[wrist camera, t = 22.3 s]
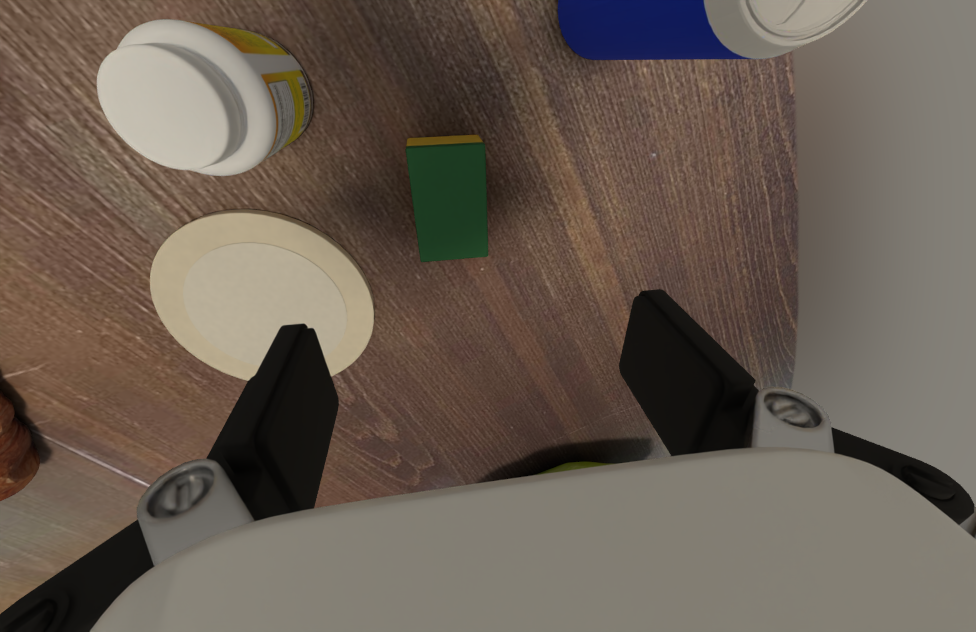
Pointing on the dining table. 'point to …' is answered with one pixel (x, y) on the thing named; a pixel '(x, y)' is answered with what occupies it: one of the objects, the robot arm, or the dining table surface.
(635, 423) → the dining table surface
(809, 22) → the beverage can
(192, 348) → the plate
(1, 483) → the pastry
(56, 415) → the dining table surface
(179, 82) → the supplement bottle
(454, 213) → the sponge
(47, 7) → the dining table surface
